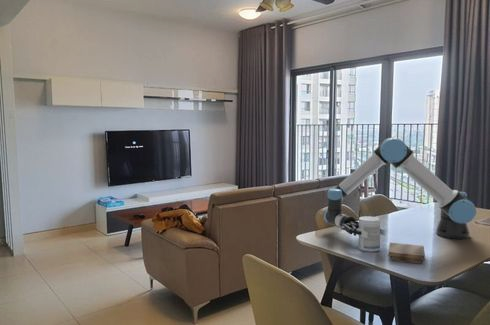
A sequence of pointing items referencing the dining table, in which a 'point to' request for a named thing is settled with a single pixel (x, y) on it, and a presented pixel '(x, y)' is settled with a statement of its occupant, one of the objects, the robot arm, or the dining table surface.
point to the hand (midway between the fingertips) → (375, 233)
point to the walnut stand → (406, 252)
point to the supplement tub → (370, 233)
